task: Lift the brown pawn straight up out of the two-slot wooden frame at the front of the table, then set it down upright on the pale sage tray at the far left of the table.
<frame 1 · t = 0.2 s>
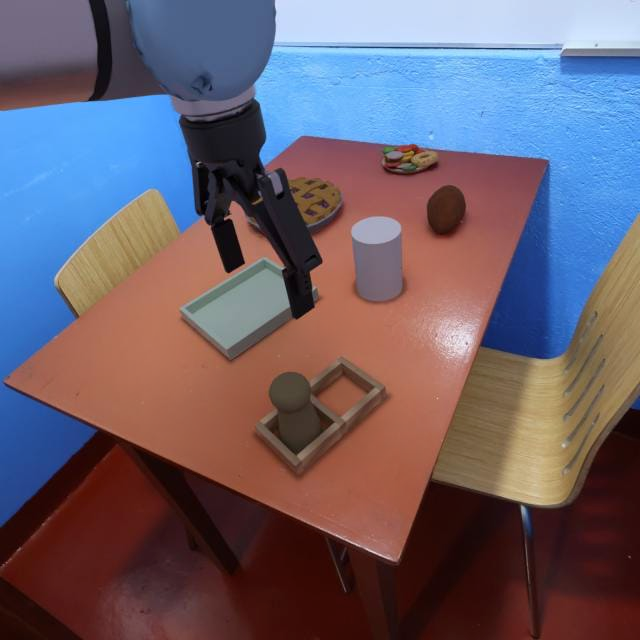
hand: (267, 288, 57), 20 cm above the table, tool pointing down, fingers open, 13 cm apart
toy food set: (407, 165, 118), on the table
pie: (296, 216, 107), on the table
two-slot wooden frame: (322, 416, 66), on the table
cup: (379, 287, 85), on the table
potato: (444, 225, 96), on the table
tray: (251, 308, 85), on the table
brown pawn: (302, 434, 64), resting in two-slot wooden frame
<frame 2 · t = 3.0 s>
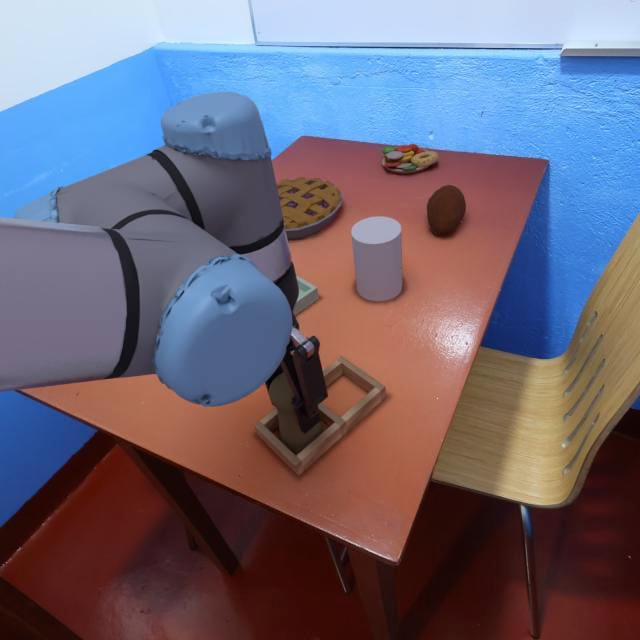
hand: (295, 412, 61), 5 cm above the table, tool pointing down, fingers closed on brown pawn, 5 cm apart
brown pawn: (302, 434, 64), resting in two-slot wooden frame, touching gripper
everything else where it was.
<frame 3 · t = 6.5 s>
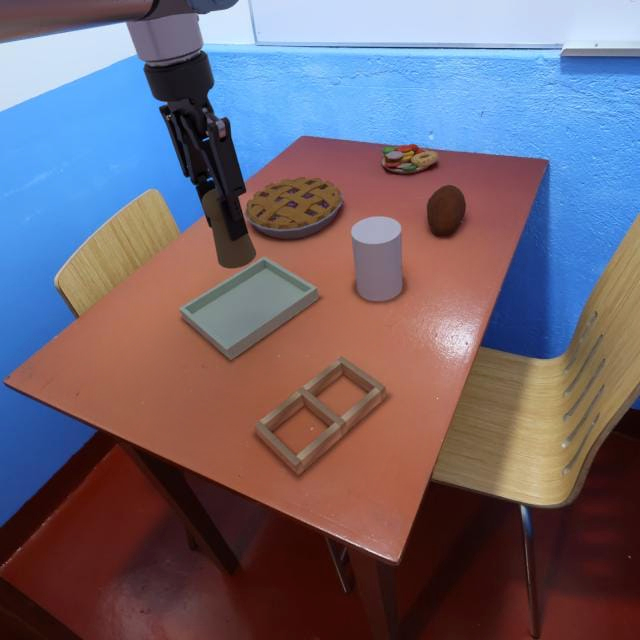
hand: (228, 229, 69), 19 cm above the table, tool pointing down, fingers closed on brown pawn, 5 cm apart
brown pawn: (237, 257, 73), point 14 cm above the table, touching gripper
everything else where it was.
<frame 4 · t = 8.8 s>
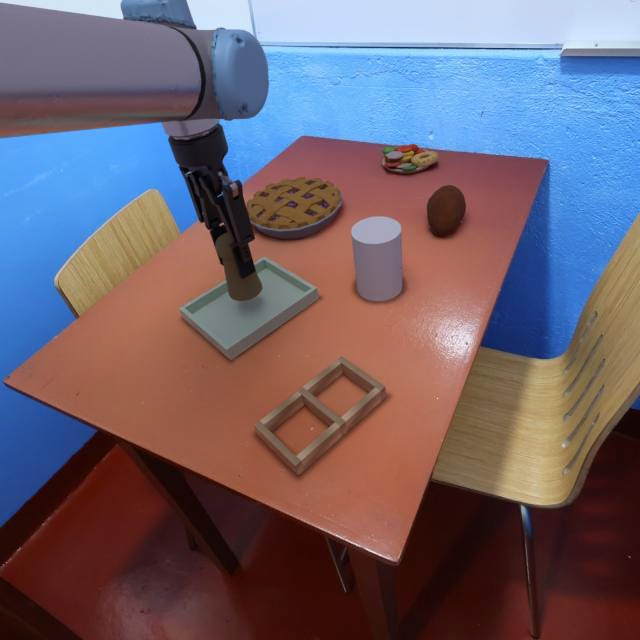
hand: (238, 267, 79), 9 cm above the table, tool pointing down, fingers closed on brown pawn, 5 cm apart
brown pawn: (245, 290, 82), point 4 cm above the table, touching gripper
everything else where it was.
when the fingers open (6 cm above the table, at t = 10.1 s): brown pawn stays where it is, resting on tray.
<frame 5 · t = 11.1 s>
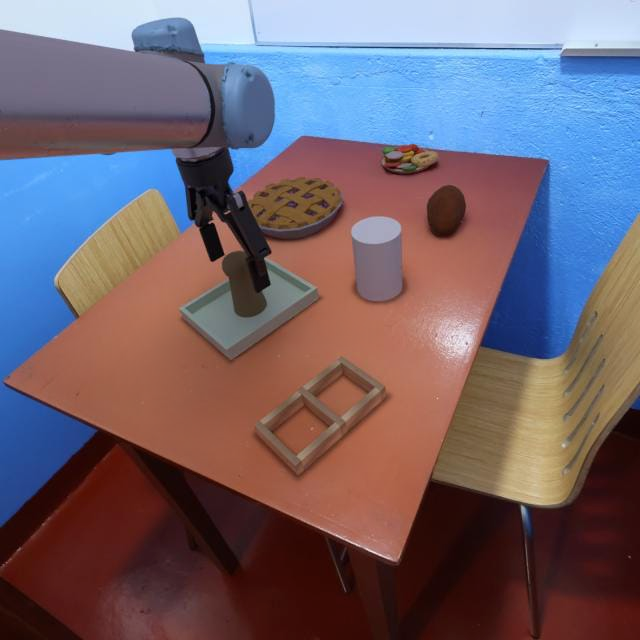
hand: (239, 272, 79), 8 cm above the table, tool pointing down, fingers open, 13 cm apart
brown pawn: (250, 306, 85), resting on tray
everything else where it was.
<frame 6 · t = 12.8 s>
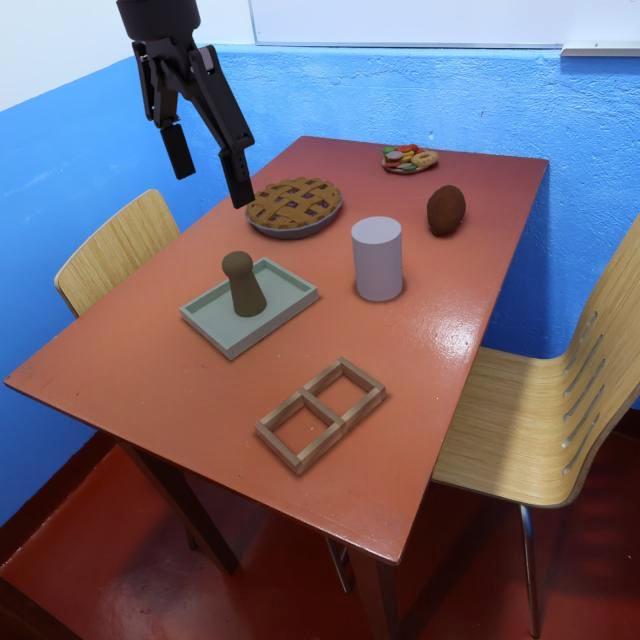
hand: (213, 189, 60), 28 cm above the table, tool pointing down, fingers open, 13 cm apart
nothing on the table moved.
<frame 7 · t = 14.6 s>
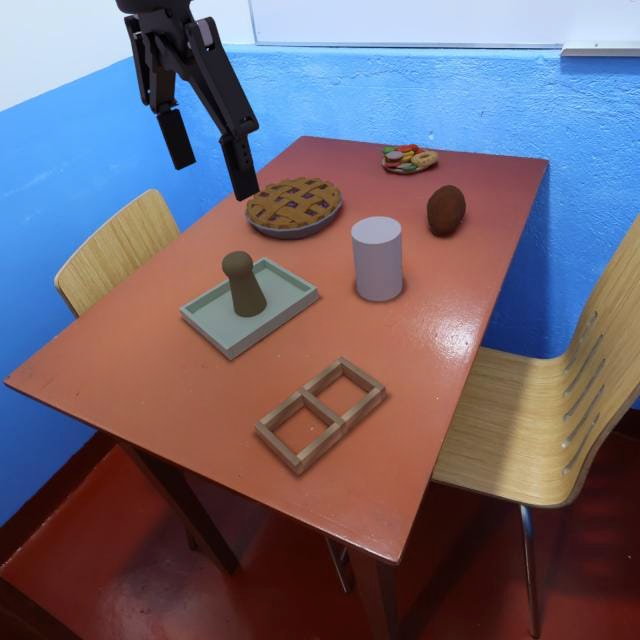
hand: (214, 180, 55), 31 cm above the table, tool pointing down, fingers open, 13 cm apart
nothing on the table moved.
at the end: brown pawn inside the target area in the tray (0.1 cm from its centre), point 0.4 cm above the tray's base; brown pawn tilted 0°; the gripper is holding nothing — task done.
